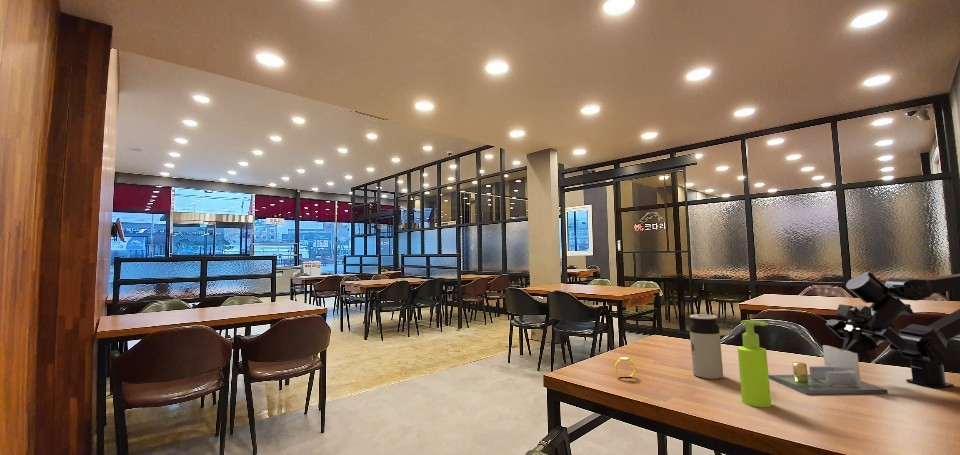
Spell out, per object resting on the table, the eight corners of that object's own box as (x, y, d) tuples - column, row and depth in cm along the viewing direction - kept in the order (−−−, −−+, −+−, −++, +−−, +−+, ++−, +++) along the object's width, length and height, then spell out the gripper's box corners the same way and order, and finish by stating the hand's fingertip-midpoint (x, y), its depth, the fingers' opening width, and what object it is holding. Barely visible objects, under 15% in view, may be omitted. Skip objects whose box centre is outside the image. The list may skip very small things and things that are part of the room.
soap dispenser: (767, 410, 92) (759, 323, 94) (737, 401, 98) (729, 320, 100) (781, 405, 95) (773, 321, 96) (750, 397, 101) (743, 317, 103)
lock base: (841, 377, 114) (838, 356, 115) (888, 393, 100) (885, 369, 101) (769, 378, 115) (767, 357, 116) (805, 394, 102) (803, 370, 102)
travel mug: (723, 374, 121) (718, 314, 123) (723, 381, 115) (717, 318, 116) (694, 371, 126) (689, 313, 127) (692, 377, 119) (687, 316, 120)
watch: (617, 379, 120) (614, 359, 121) (615, 377, 123) (612, 357, 123) (637, 378, 119) (634, 358, 120) (635, 376, 122) (632, 356, 123)
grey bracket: (829, 375, 113) (826, 345, 113) (861, 386, 103) (857, 353, 103) (805, 375, 113) (802, 345, 114) (834, 386, 103) (831, 353, 104)
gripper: (828, 291, 119) (794, 329, 118) (889, 297, 100) (848, 342, 100) (859, 318, 118) (824, 356, 117) (926, 328, 99) (884, 374, 99)
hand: (842, 356), depth 108 cm, fingers closed, pressing on grey bracket
